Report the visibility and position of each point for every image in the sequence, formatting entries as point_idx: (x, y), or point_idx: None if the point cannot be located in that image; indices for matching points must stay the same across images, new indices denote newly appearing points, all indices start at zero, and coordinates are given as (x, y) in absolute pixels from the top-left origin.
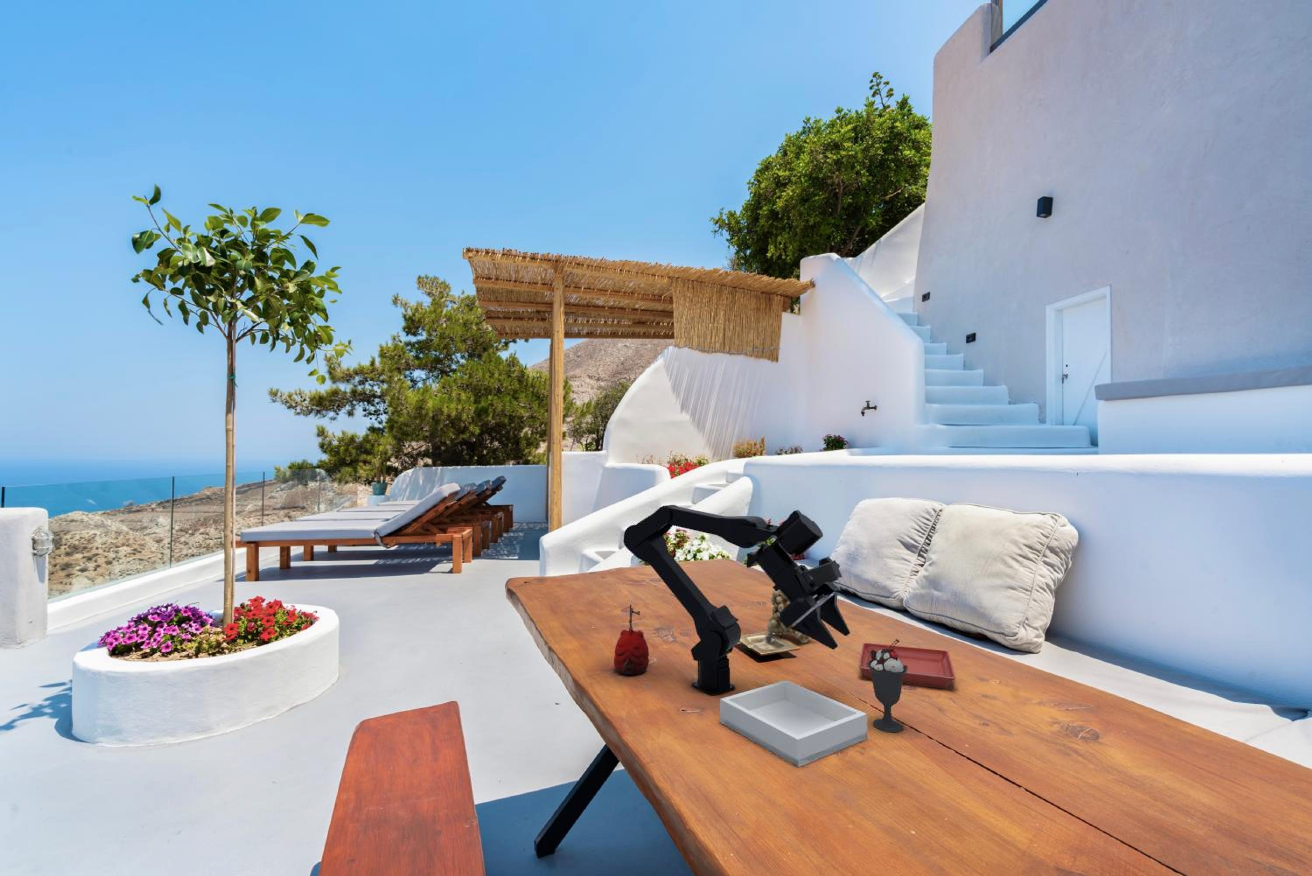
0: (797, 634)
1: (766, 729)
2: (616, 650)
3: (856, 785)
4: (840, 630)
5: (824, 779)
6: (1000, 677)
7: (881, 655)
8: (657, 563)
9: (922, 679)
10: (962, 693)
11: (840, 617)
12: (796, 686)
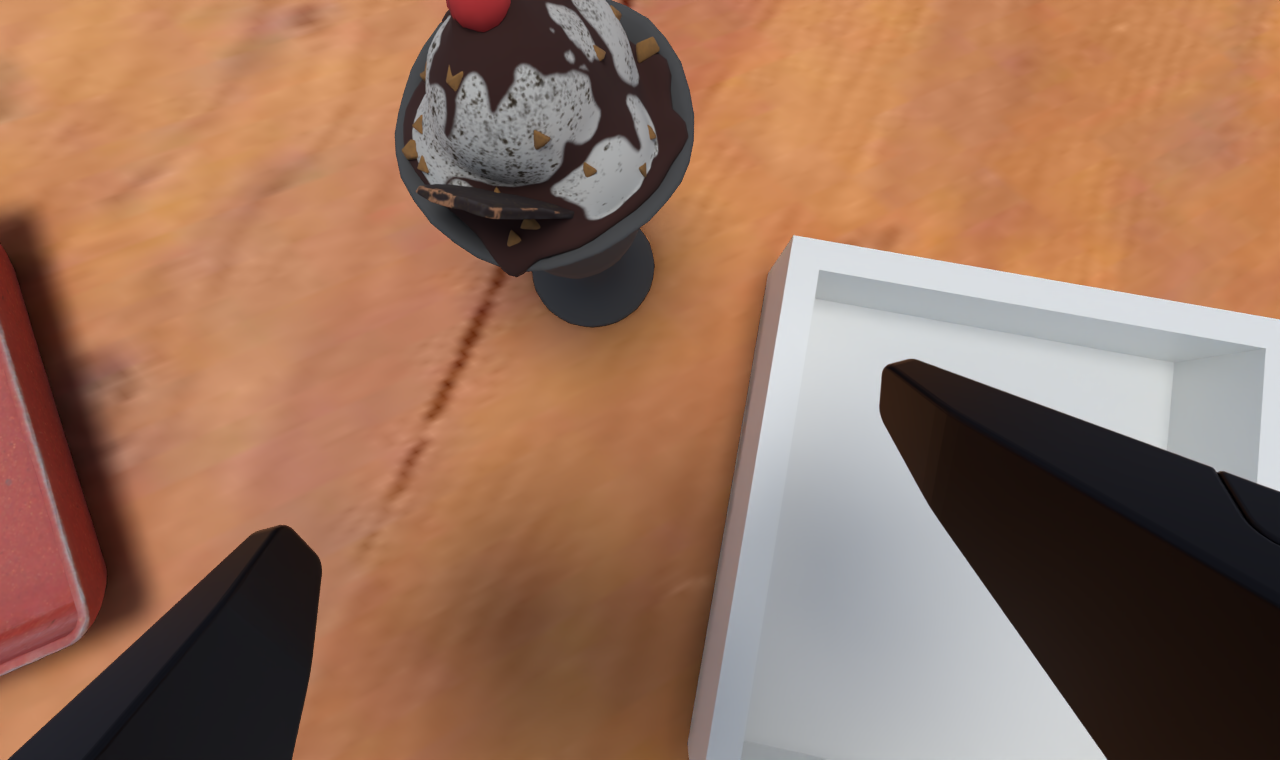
0: None
1: None
2: None
3: (1113, 145)
4: (295, 648)
5: (1169, 237)
6: None
7: (583, 72)
8: None
9: (17, 326)
10: (25, 182)
11: (103, 754)
12: (737, 705)
